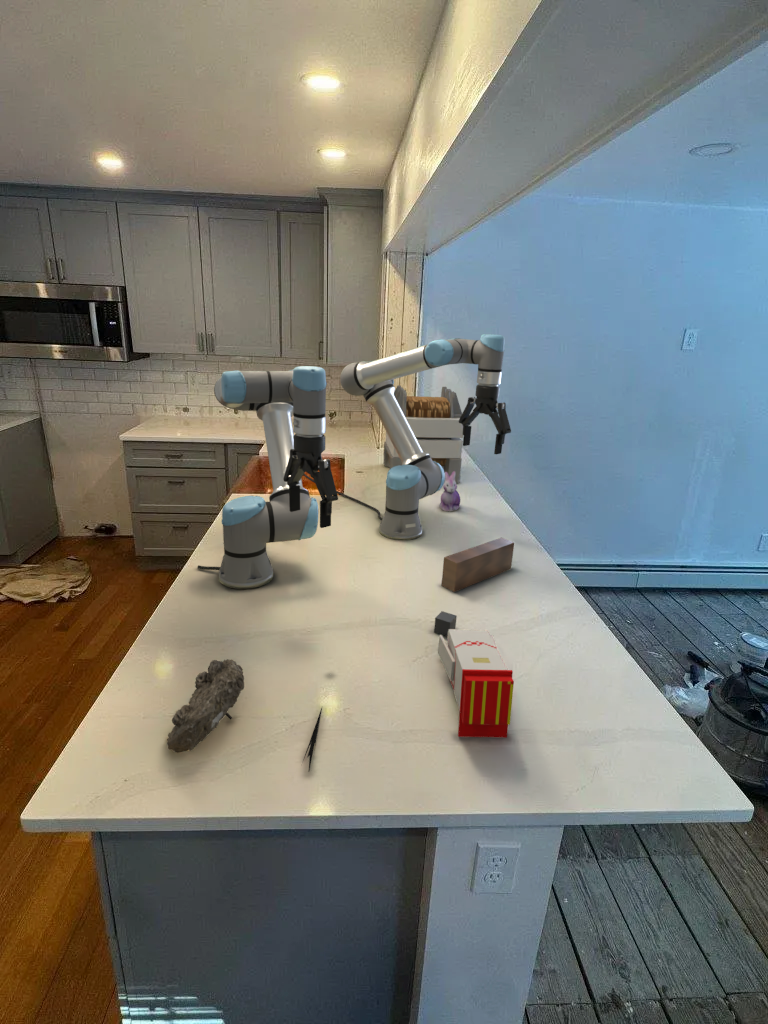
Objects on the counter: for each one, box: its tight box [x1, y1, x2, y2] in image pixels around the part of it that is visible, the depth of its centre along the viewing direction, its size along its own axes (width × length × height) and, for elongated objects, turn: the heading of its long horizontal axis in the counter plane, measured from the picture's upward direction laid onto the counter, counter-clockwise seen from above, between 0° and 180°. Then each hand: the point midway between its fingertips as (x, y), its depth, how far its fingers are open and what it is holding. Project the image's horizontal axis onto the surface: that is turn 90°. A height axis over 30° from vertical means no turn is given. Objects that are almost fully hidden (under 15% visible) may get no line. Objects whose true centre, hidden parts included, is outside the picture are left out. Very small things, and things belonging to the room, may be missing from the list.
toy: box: [437, 628, 515, 738], centre depth 117 cm, size 12×13×30 cm
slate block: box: [433, 610, 458, 637], centre depth 140 cm, size 4×4×4 cm
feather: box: [301, 673, 332, 771], centre depth 108 cm, size 2×28×2 cm
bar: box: [441, 537, 515, 593], centre depth 169 cm, size 26×5×9 cm, turn 131°
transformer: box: [383, 384, 464, 484], centre depth 268 cm, size 34×33×41 cm
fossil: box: [166, 658, 245, 754], centre depth 106 cm, size 22×10×15 cm
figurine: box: [439, 471, 461, 512], centre depth 226 cm, size 9×10×15 cm
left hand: (309, 518), depth 141 cm, fingers open, 13 cm apart
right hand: (481, 449), depth 189 cm, fingers open, 13 cm apart
